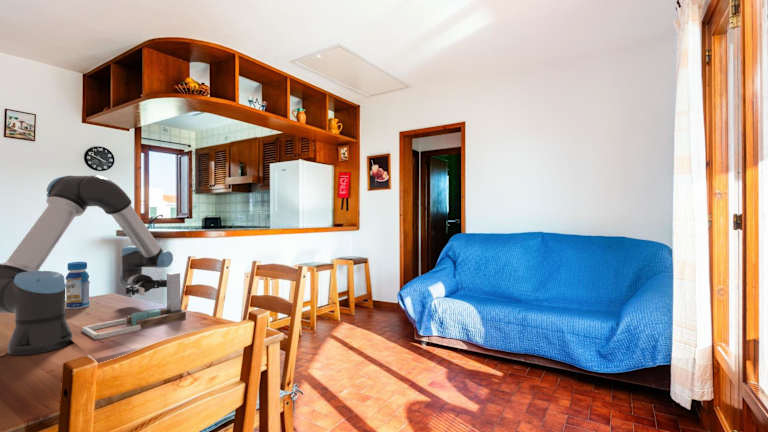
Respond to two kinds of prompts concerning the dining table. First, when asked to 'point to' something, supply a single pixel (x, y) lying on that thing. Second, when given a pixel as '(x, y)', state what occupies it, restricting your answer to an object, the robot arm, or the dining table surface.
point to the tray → (94, 335)
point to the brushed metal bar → (173, 293)
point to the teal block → (153, 313)
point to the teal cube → (138, 317)
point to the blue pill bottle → (77, 286)
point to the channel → (158, 319)
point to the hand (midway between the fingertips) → (162, 289)
